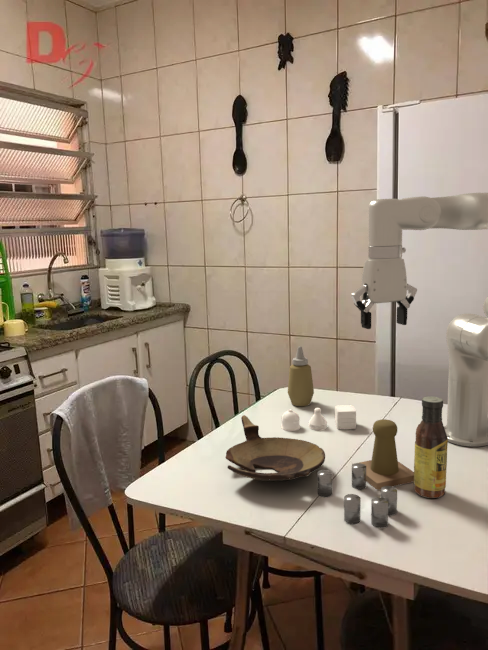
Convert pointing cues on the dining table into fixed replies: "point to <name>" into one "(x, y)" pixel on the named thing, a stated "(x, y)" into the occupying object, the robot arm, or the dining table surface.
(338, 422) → the container set
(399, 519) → the dining table surface
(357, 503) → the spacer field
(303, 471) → the broken ceramic bowl
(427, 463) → the sauce bottle
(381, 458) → the olive pawn
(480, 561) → the dining table surface
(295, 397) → the squeeze bottle
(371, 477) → the walnut board
